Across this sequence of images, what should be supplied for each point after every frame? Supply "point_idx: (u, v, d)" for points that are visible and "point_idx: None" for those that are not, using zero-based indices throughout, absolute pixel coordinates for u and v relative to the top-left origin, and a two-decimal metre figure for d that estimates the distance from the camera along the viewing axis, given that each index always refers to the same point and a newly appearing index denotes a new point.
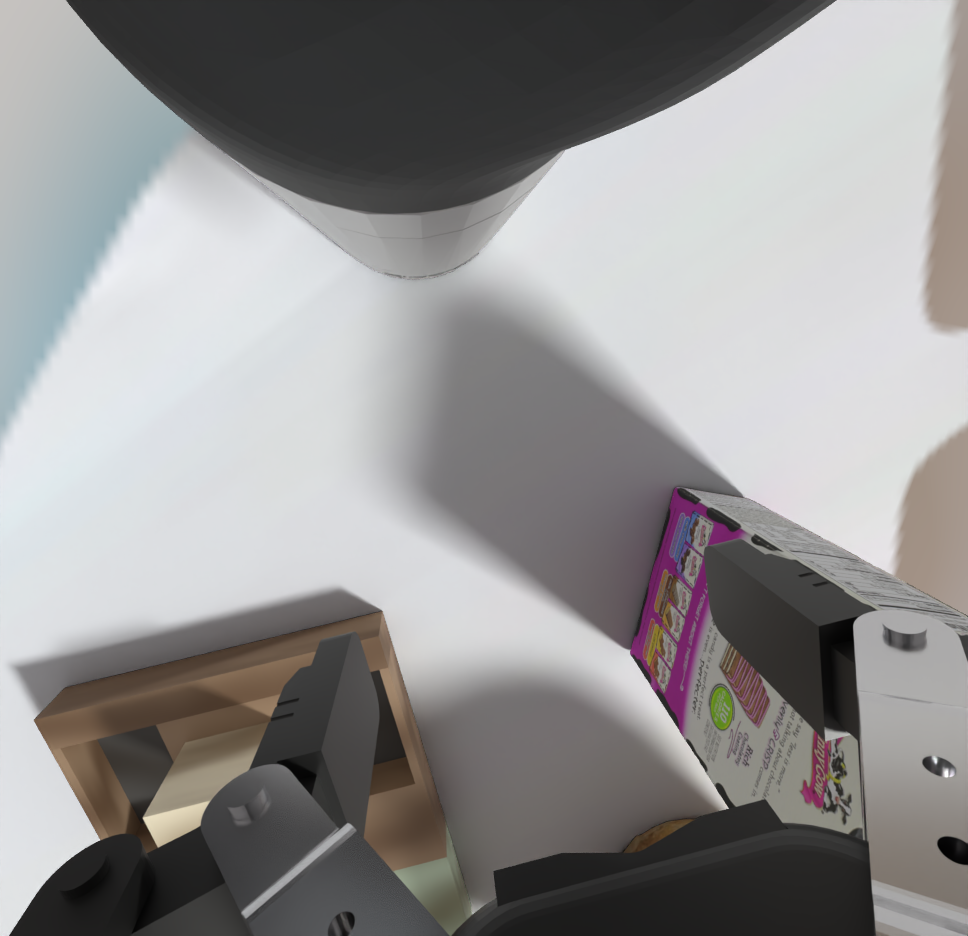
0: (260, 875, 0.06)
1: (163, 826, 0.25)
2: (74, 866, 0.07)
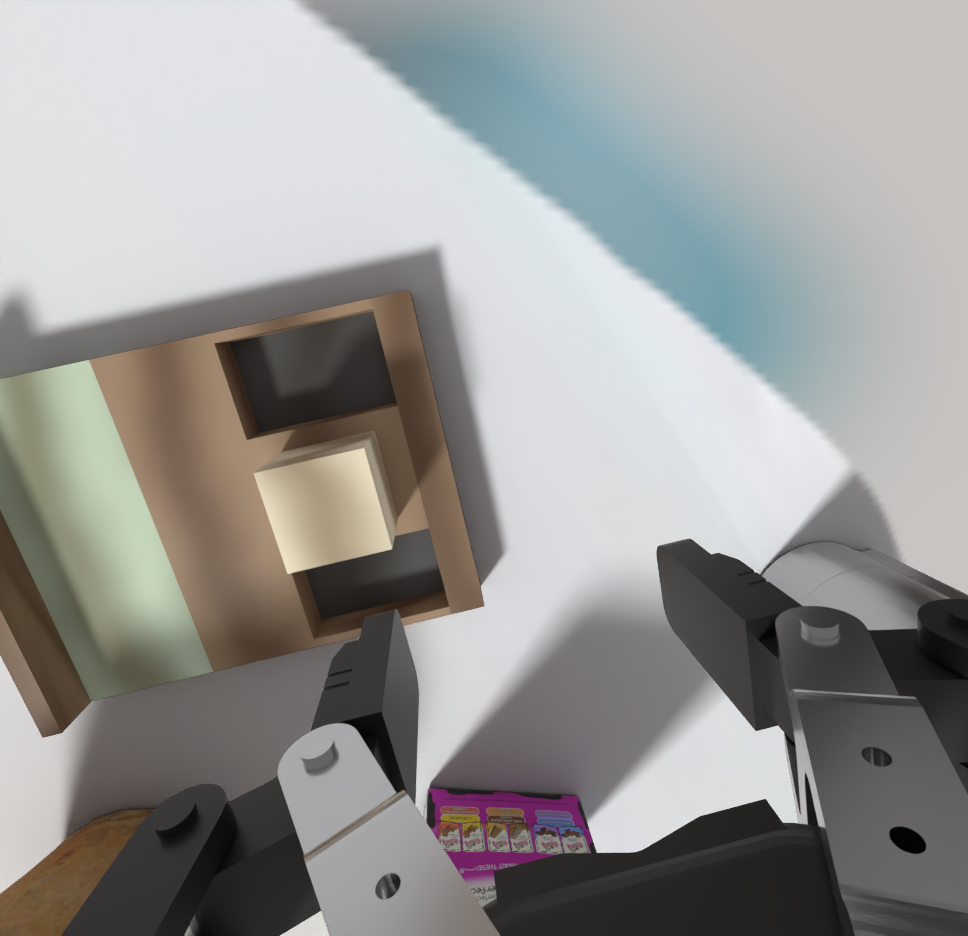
0: (324, 824, 0.07)
1: (351, 465, 0.24)
2: (168, 808, 0.07)
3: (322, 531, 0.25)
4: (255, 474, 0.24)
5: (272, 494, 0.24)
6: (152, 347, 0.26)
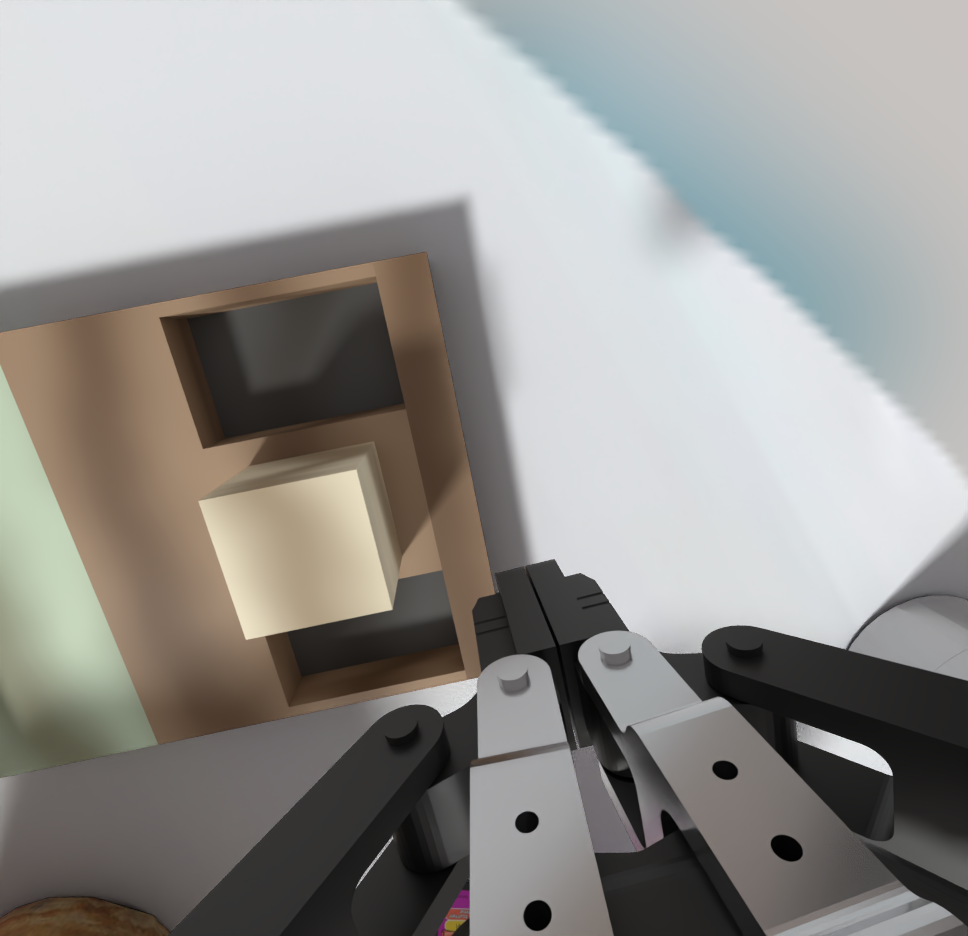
0: (499, 741, 0.07)
1: (337, 493, 0.17)
2: (398, 717, 0.08)
3: (295, 583, 0.18)
4: (201, 502, 0.17)
5: (225, 531, 0.17)
6: (74, 320, 0.19)
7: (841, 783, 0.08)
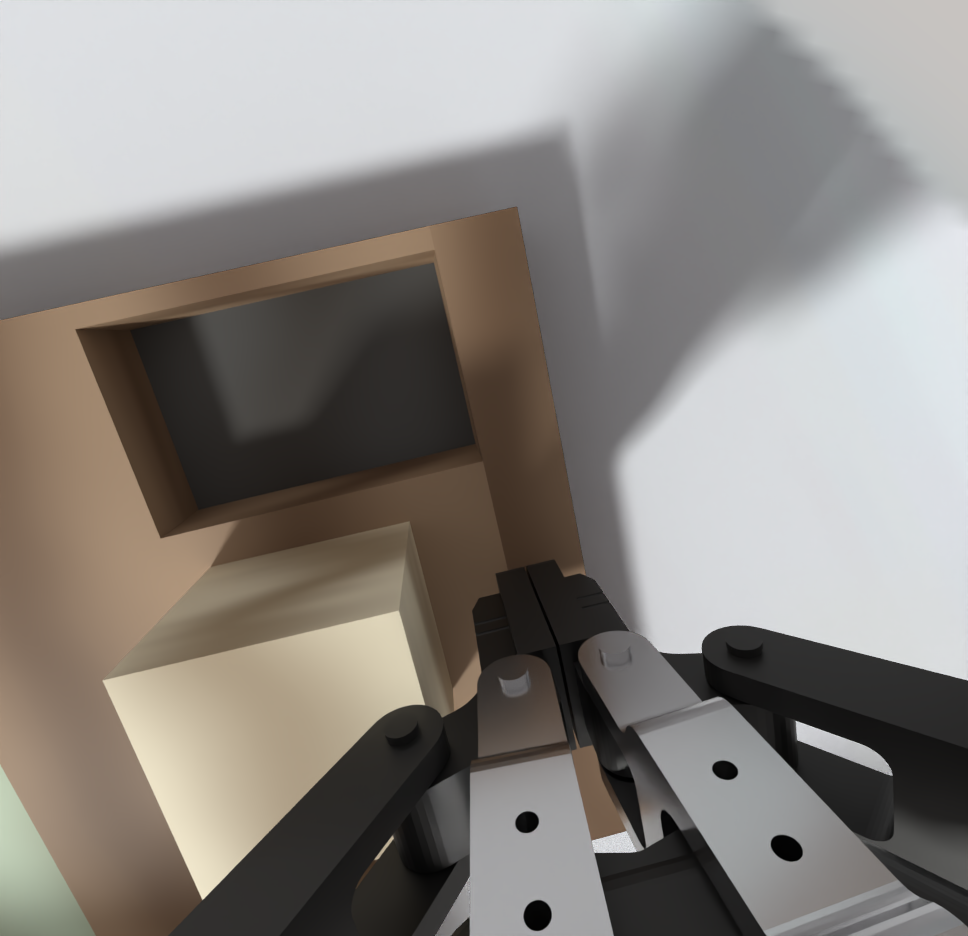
0: (499, 741, 0.07)
1: (364, 653, 0.09)
2: (397, 718, 0.08)
3: (290, 808, 0.10)
4: (108, 683, 0.09)
5: (157, 729, 0.09)
6: None
7: (841, 783, 0.08)
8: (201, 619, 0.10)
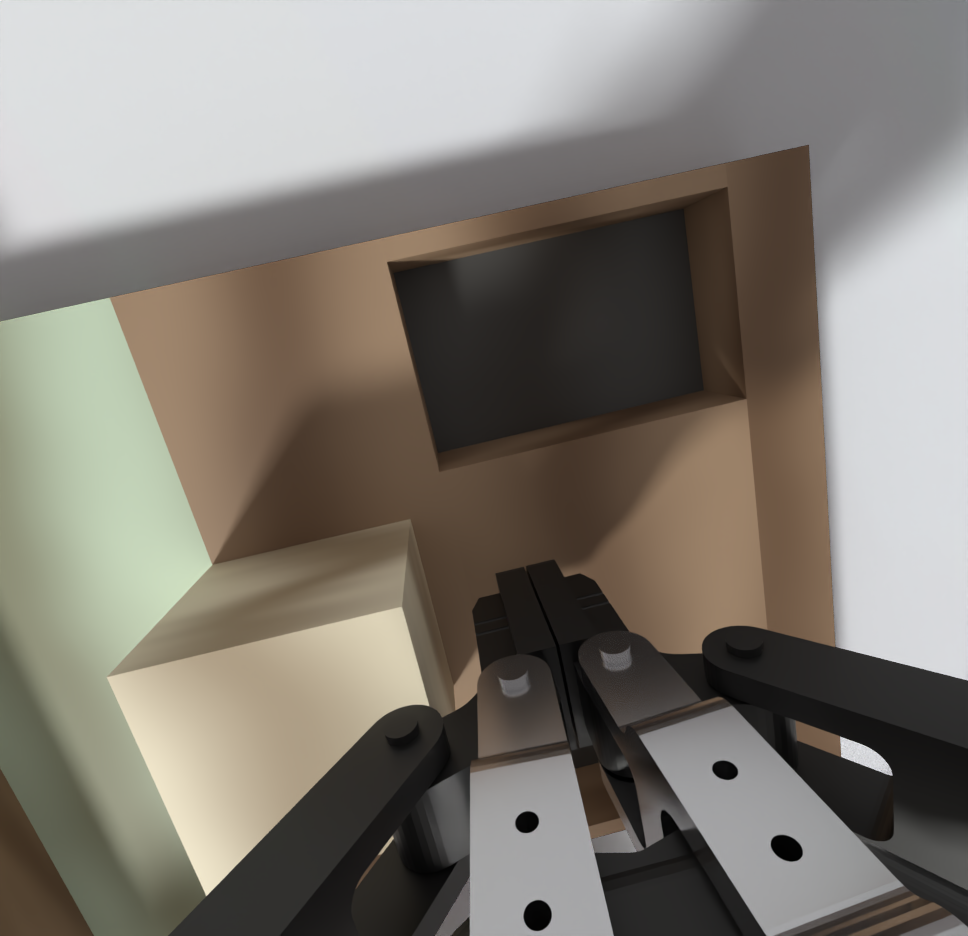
0: (499, 741, 0.07)
1: (367, 649, 0.09)
2: (397, 718, 0.08)
3: (294, 803, 0.10)
4: (112, 680, 0.09)
5: (161, 725, 0.09)
6: (251, 270, 0.12)
7: (841, 783, 0.08)
8: (204, 616, 0.10)
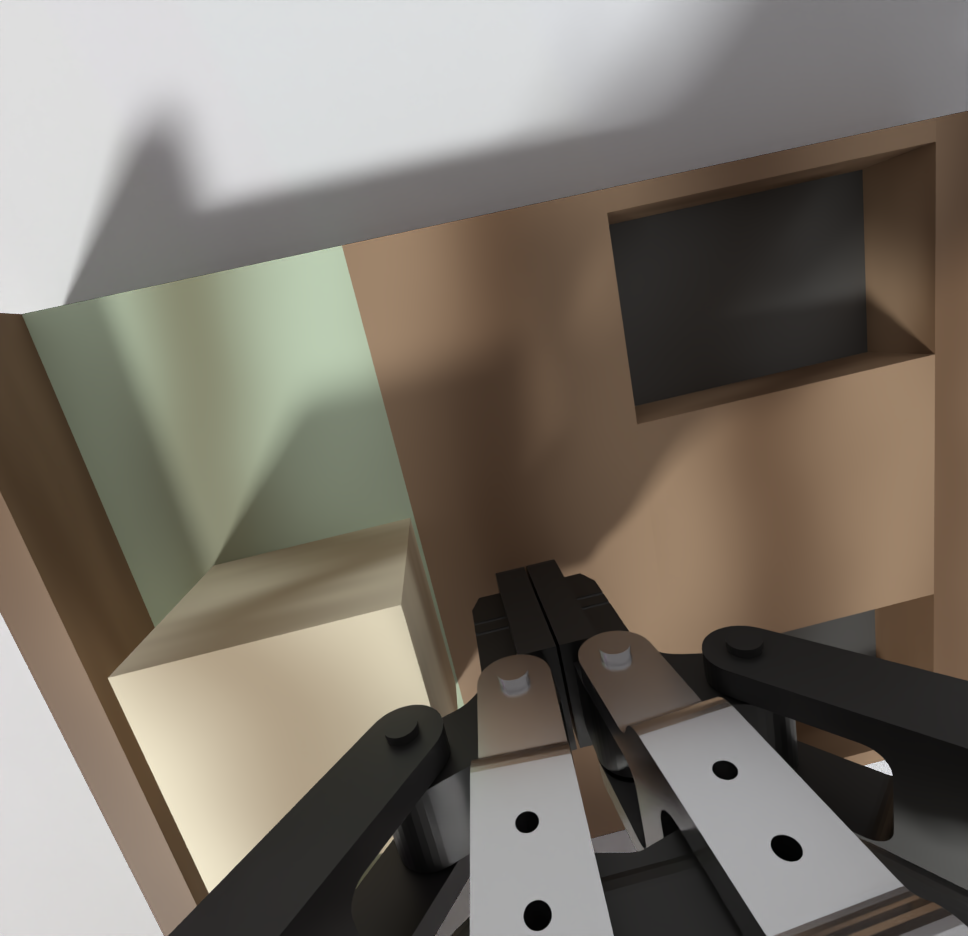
0: (500, 741, 0.07)
1: (367, 648, 0.09)
2: (398, 718, 0.08)
3: (296, 803, 0.10)
4: (113, 680, 0.09)
5: (162, 726, 0.09)
6: (477, 219, 0.12)
7: (841, 783, 0.08)
8: (204, 617, 0.10)
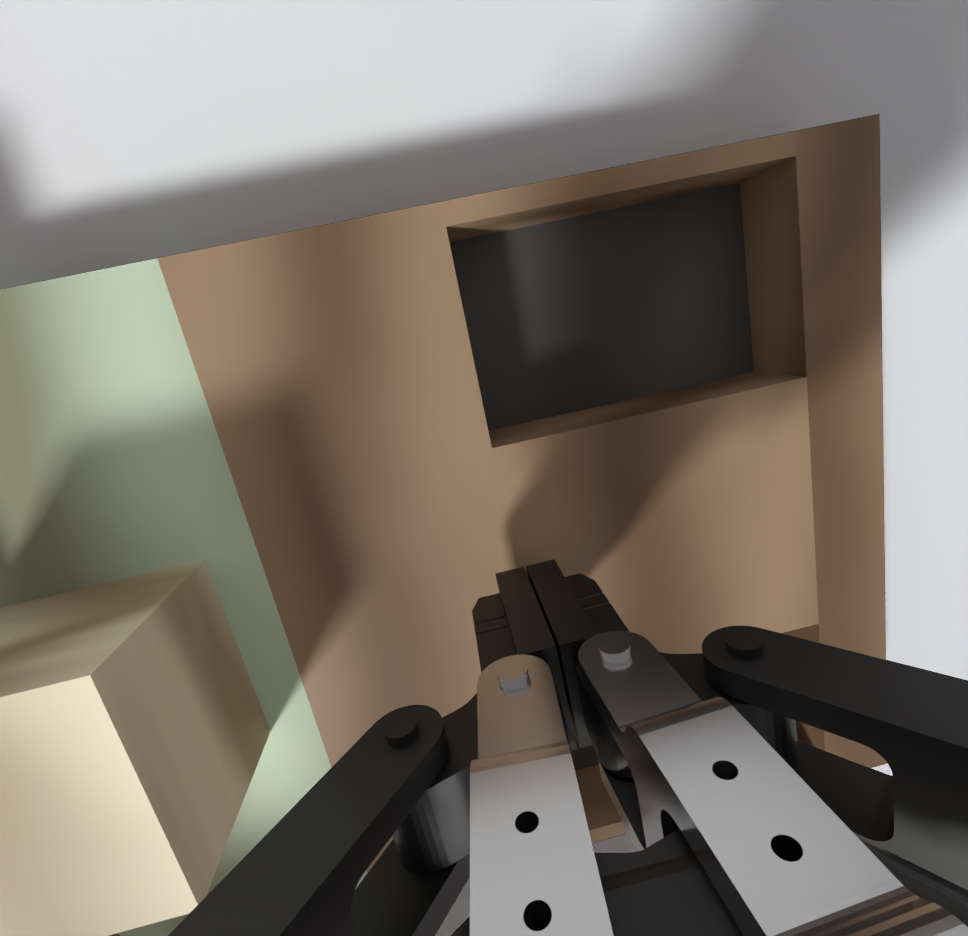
0: (499, 741, 0.07)
1: (57, 721, 0.08)
2: (397, 718, 0.08)
3: None
4: None
5: None
6: (305, 232, 0.11)
7: (841, 783, 0.08)
8: None
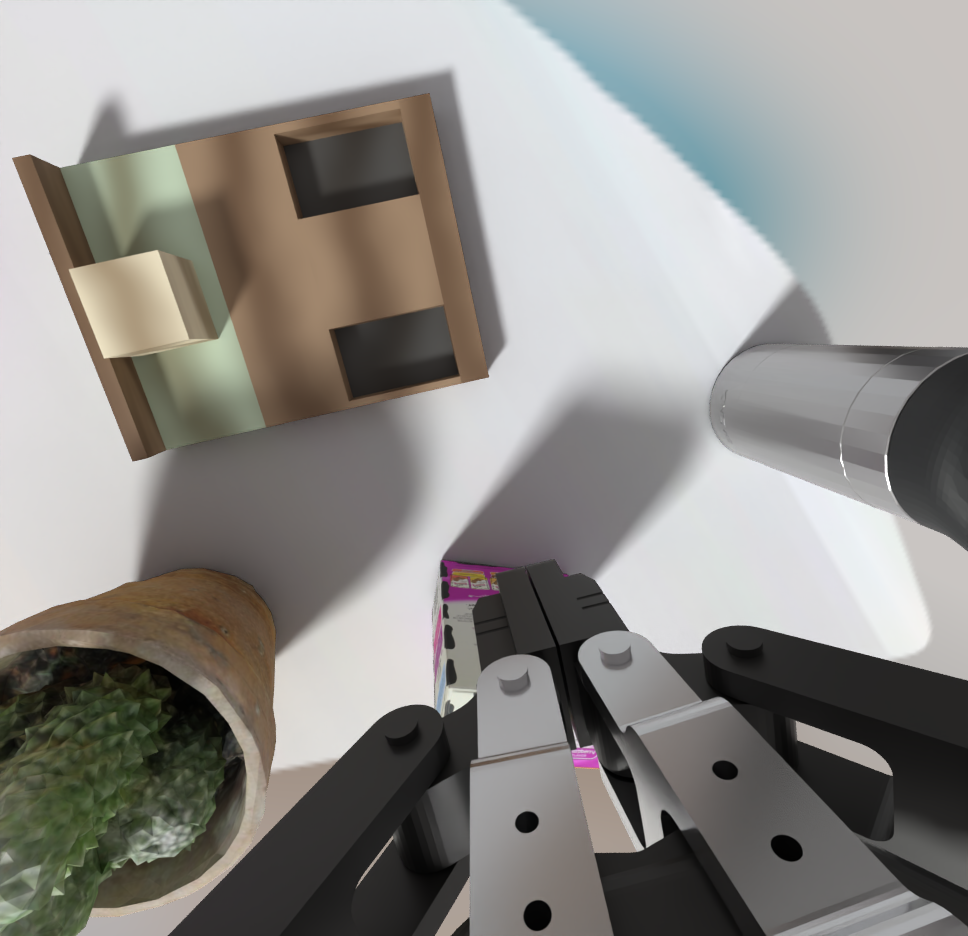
0: (499, 741, 0.07)
1: (148, 264, 0.30)
2: (397, 718, 0.08)
3: (129, 322, 0.31)
4: (70, 270, 0.30)
5: (85, 288, 0.30)
6: (224, 136, 0.33)
7: (841, 783, 0.08)
8: None
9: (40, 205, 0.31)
